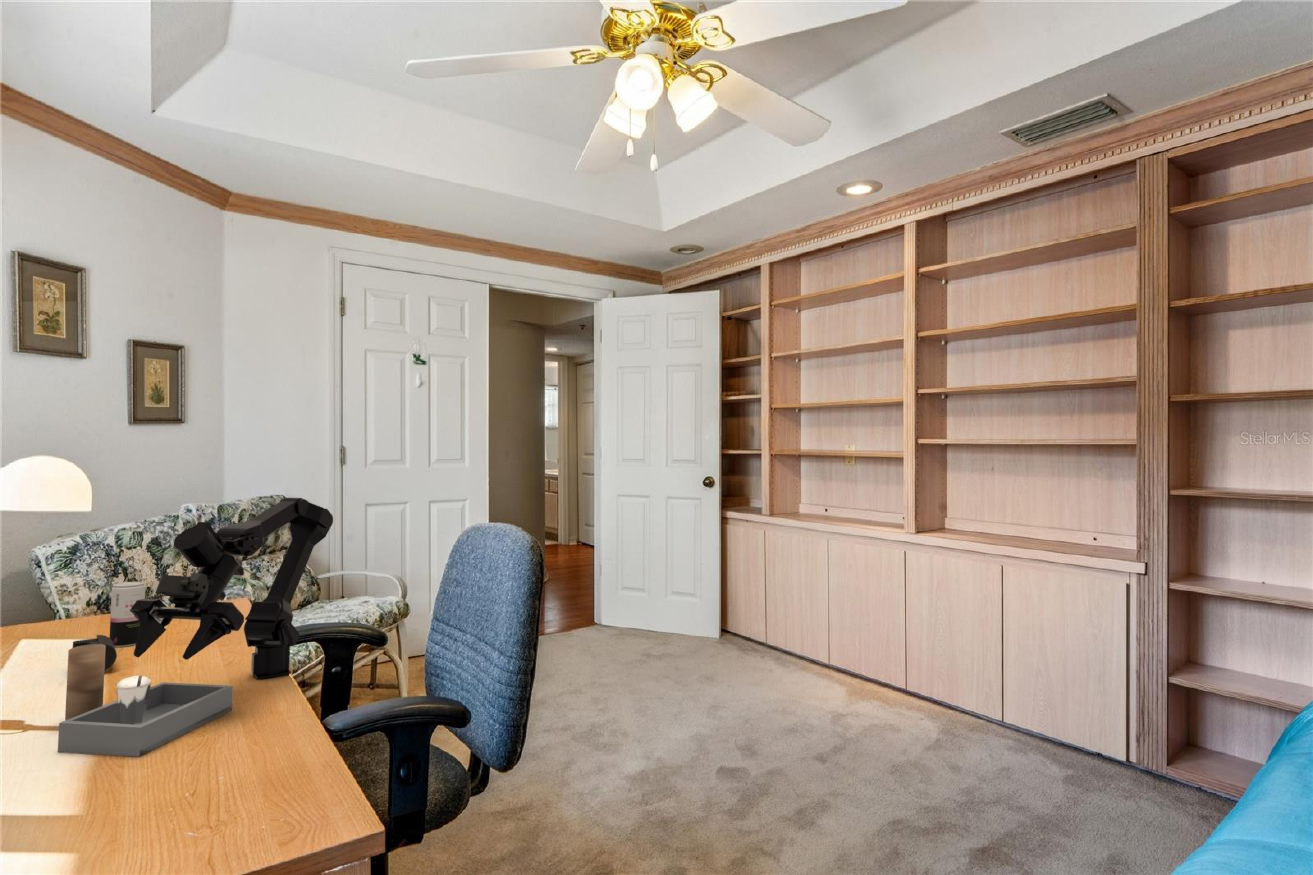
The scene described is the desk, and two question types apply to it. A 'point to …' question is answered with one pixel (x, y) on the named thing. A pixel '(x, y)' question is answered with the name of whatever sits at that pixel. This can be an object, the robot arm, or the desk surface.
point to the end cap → (109, 651)
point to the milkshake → (133, 699)
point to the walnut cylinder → (85, 679)
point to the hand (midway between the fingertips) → (160, 657)
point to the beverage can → (125, 613)
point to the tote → (146, 720)
